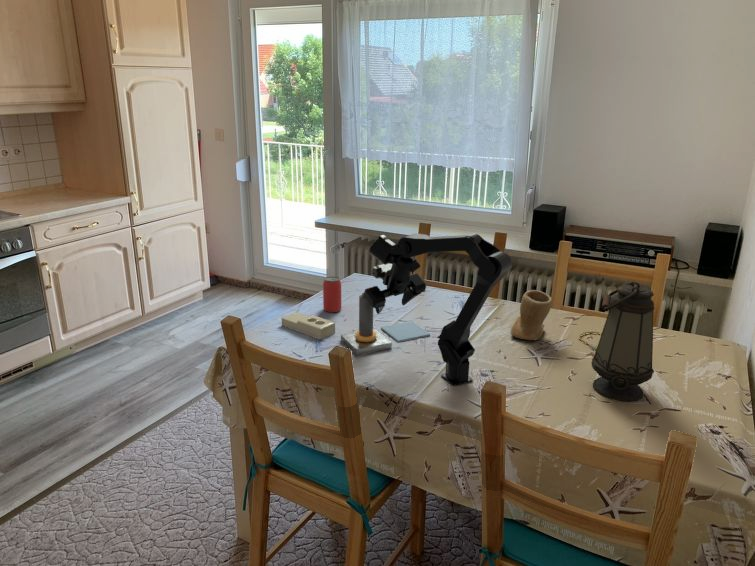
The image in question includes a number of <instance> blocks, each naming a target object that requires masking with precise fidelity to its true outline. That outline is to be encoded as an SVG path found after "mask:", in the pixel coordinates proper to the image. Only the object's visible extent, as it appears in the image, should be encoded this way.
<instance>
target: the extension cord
mask: <svg viewBox="0 0 755 566" xmlns="http://www.w3.org/2000/svg"><path fill="white" fill-rule="evenodd" d="M586 333H597V334H599V333H601V334H602V332H598V331H585V332H582V333H581V334H579V336H578V338H580V340H581V341H582V342H584V343H586V344H585V345H587V344H588V345H587V346H589V347H591V348H592V349H593V350H592V349H591V348H590V349H591V350H592V351H594V350H595V351H596V349H597V346H598V345H594V344H592V343H591V344H590V343H588V342H586V341H585V340H583V339H582V337H580V336H581V335H583V334H586ZM595 351H594V352H595Z"/></svg>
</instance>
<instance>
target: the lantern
mask: <svg viewBox="0 0 755 566" xmlns="http://www.w3.org/2000/svg"><path fill="white" fill-rule="evenodd" d="M612 296H613V297H612ZM653 296H654V292H653V290H651V289H650V288H647V287H644V286H641V285H640V283H639V282H638V281H637V280H634V281H631V282H629V283H627V284H623V285H619V286H618V287H616V289H615V290H614V291H611V292H610V293H609V294H605V295H603V298H602V304H601V307H600V308H601V310H602V311H603V312H608V313H607V317H606V320H605V322H604V323H605V324H604V325H603V328H602V332H601V333H602V334H601V335H600V338H599V340H598V343H597V345H596V346H597V349H596V352H595V351H594V352H595V353H594V355H593V357H592V359H591V360H592V361H591V367H592V369H593V371H594V372H596V373H597V375H598V376H600V377H598V378H596V379H594V380H593V383H592V388H593V390H594V391H595V392H596V393H597V394H599V395H600V396H602V397H604V398H607V399H609V400H612V401H615V402H620V403H622V402H623V403H634V402H635V403H637V402H639V401H641V400H642V399H643V398H644V395H645V393H644V390H643V389H642V388H641V386H639V385H641V384H644V383H647V382H648V381H650V380H651V379H652V377H653V374H654V372H655V370H654V368H653V354H654V353H653V348H654V346H653V345H654V313H655V303H654V301H653V299H652V298H653Z"/></svg>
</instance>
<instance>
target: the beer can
mask: <svg viewBox="0 0 755 566" xmlns="http://www.w3.org/2000/svg"><path fill="white" fill-rule="evenodd" d="M322 297H323V298H322V299H323V300H322V302H323V305H322V306H323V308H322V309H323V310H324V311H325V312H327V313H337V312H340V311H341V309H342V281H341V279H340V277H338V276H332V275H331V276H326V277H324V281H323V283H322Z"/></svg>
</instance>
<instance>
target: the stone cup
mask: <svg viewBox="0 0 755 566" xmlns="http://www.w3.org/2000/svg"><path fill="white" fill-rule="evenodd" d="M552 304H553V298H552V297H551V296H550V295H549V294H547V293H546V292H543V291H542V290H537V289H529V290H527V291H526V292H524V293H523V294H522V297H521V302H520V307H519V312H520V313H519V314H520V316H518V317H517V318H516V320H515V321H514V323H513V325H512V326H511V328H510V335H511V336H513V337H515V338H518V339H522V340H524V341H525V340H526V341H536V340H539V339H540V337H541V336H542V334H543V332H544V327H545V324H543V323H544V321H545V319H546V318H547V316H548V315H549V313H550V311H551V307H552Z"/></svg>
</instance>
